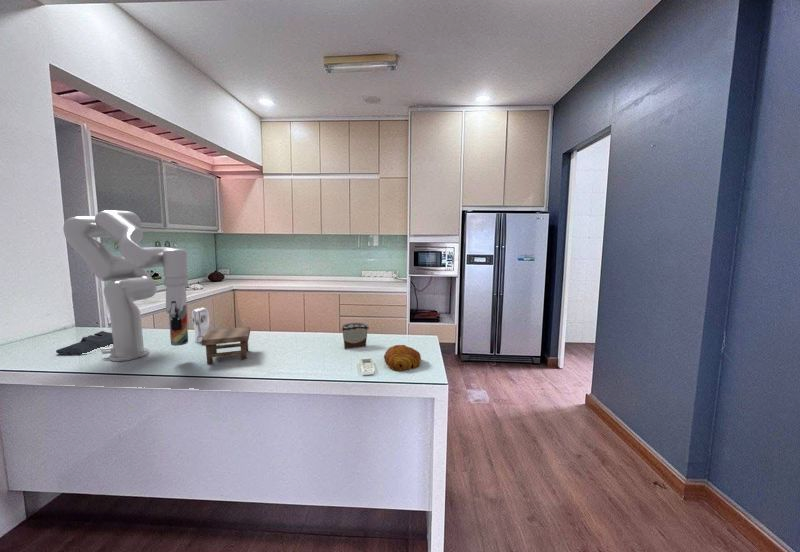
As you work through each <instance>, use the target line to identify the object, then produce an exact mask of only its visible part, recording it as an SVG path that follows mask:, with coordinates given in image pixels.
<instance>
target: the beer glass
mask: <svg viewBox="0 0 800 552" xmlns="http://www.w3.org/2000/svg"><path fill="white" fill-rule="evenodd" d="M191 323H192V326H193V330H194V335H195V337H194V342H195V343H197V344H198V343H200V344H202V342H201V340H202V339H203V337H204V336H205V334H206V333H207V331H208V330H210V328H209V327H210V312H209V308H208V307H197V308H193V309H191Z"/></svg>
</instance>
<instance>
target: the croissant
mask: <svg viewBox="0 0 800 552" xmlns="http://www.w3.org/2000/svg"><path fill="white" fill-rule="evenodd" d="M383 360H384V362H385V365H386V366H387V367H388V368H389V369H391V370H394V371H398V372H400V371H407V370H410V369H411V370H412V369H417V368H418V367H419V365H420V364H421V361H422V357H421V353H420V352H419V351H418V350H416V349H414V348H413V347H410V346H407V345H405V344H396V345H393V346H390V347H388V349H386V351H385V353H384V355H383Z"/></svg>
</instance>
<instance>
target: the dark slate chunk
mask: <svg viewBox="0 0 800 552" xmlns="http://www.w3.org/2000/svg"><path fill="white" fill-rule="evenodd" d="M93 334H94V335H93ZM93 334H90V335H88V336H83V337H81V340H80V341H79V342H76V343H73V344H71V345H68V346H66V347H61V348H58V349H56V351H55V352H56V353H57V354H58V353H63V355H72V354H82V353H87V352H90V351H92V350H94V349H97V348H100V347H105V346H107V345H110V344H113V338H112V332H108V331H104V330H101V331H99V332H96V333H93ZM64 353H66V354H64Z"/></svg>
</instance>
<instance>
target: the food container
mask: <svg viewBox="0 0 800 552" xmlns="http://www.w3.org/2000/svg"><path fill="white" fill-rule="evenodd" d="M368 330H370V328H369V325H368V324H367V323H363V322H348V323H345V324H343V325H342V326H341V329H340V331H341V332H342V337H343V343H344V344H343V346H344V350H350V349H359V348H360V349H361V348H366V347H367V338H368Z"/></svg>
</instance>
